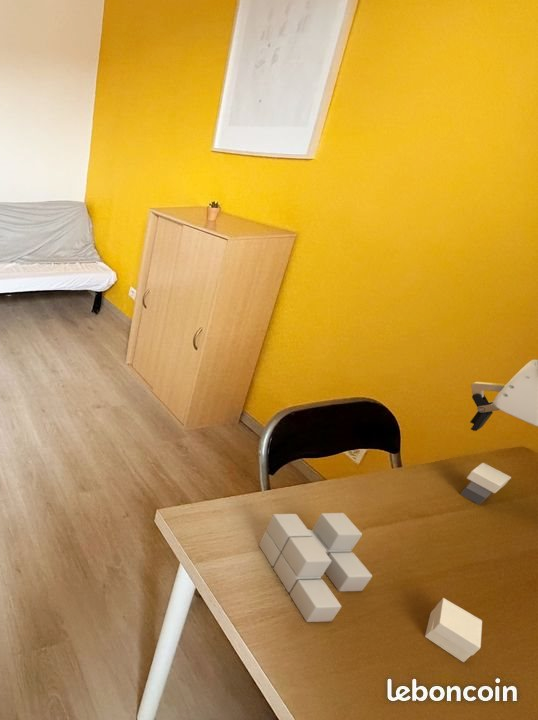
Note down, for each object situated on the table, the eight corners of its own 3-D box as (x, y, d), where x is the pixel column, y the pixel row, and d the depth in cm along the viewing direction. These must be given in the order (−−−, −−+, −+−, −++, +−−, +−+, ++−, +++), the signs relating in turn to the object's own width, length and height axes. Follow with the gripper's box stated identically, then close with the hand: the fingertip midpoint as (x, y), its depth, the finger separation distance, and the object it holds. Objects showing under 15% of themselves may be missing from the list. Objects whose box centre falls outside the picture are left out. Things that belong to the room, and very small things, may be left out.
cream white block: (477, 469, 82) (482, 462, 81) (505, 484, 79) (511, 477, 78) (466, 478, 80) (471, 470, 79) (494, 493, 77) (500, 486, 76)
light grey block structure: (306, 622, 60) (327, 590, 56) (258, 544, 71) (273, 513, 67) (384, 620, 61) (410, 588, 57) (325, 543, 71) (343, 512, 68)
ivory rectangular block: (429, 612, 62) (443, 596, 60) (468, 636, 59) (484, 621, 57) (423, 637, 59) (437, 621, 57) (464, 664, 56) (480, 648, 54)
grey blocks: (468, 486, 83) (479, 471, 81) (489, 497, 81) (501, 483, 79) (458, 494, 81) (469, 479, 80) (479, 506, 79) (491, 491, 77)
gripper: (670, 392, 62) (591, 472, 70) (509, 338, 76) (458, 411, 84) (658, 405, 59) (576, 488, 67) (493, 346, 73) (441, 421, 81)
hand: (511, 445), depth 75 cm, fingers open, 9 cm apart
